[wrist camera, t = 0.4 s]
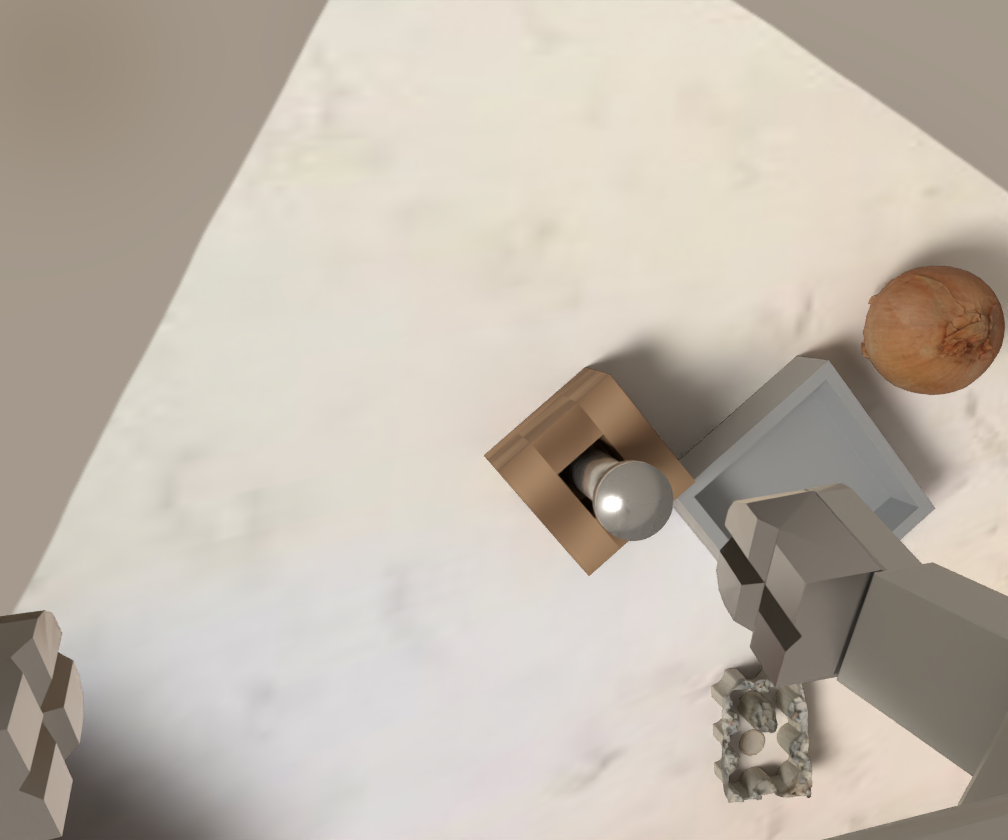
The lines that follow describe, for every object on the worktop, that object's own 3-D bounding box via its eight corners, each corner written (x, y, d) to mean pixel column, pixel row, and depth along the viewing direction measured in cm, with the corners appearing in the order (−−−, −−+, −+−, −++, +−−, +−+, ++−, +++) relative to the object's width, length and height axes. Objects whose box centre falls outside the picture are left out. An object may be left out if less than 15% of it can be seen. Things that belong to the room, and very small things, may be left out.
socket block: (664, 465, 66) (695, 481, 60) (566, 551, 65) (588, 576, 60) (585, 367, 64) (609, 374, 58) (483, 455, 63) (498, 471, 57)
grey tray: (898, 495, 70) (935, 508, 66) (763, 617, 69) (791, 638, 65) (796, 356, 67) (828, 360, 62) (653, 482, 66) (675, 495, 62)
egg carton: (788, 775, 72) (814, 804, 68) (704, 786, 71) (726, 815, 67) (793, 656, 71) (820, 678, 67) (707, 665, 69) (730, 687, 65)
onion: (873, 410, 69) (960, 429, 59) (815, 314, 66) (896, 317, 57) (963, 340, 69) (1064, 347, 59) (909, 243, 67) (1005, 234, 57)
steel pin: (625, 466, 64) (688, 504, 52) (576, 509, 63) (629, 556, 52) (585, 418, 63) (641, 446, 51) (536, 461, 62) (581, 499, 51)
